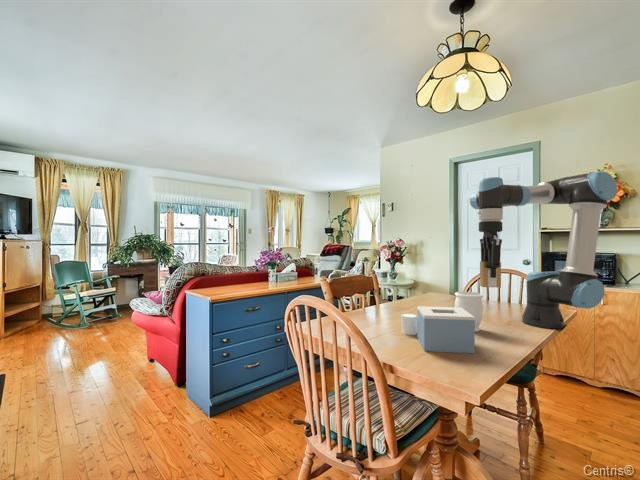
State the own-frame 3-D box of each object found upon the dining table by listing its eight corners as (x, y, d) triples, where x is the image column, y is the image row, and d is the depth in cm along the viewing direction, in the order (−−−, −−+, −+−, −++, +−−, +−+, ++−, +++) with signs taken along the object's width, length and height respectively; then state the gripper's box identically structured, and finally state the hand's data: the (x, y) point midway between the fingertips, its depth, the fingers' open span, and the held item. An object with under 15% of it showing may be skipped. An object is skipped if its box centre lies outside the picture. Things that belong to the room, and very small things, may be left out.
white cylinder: (419, 335, 120) (419, 317, 120) (401, 334, 122) (401, 317, 122) (417, 330, 127) (417, 313, 127) (400, 329, 129) (400, 312, 128)
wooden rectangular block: (497, 286, 113) (497, 261, 113) (500, 287, 110) (501, 262, 110) (479, 285, 114) (480, 261, 114) (483, 287, 111) (483, 262, 111)
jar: (476, 326, 134) (477, 291, 133) (487, 333, 123) (487, 295, 123) (451, 325, 135) (451, 291, 134) (459, 332, 124) (459, 295, 124)
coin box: (461, 339, 116) (461, 307, 116) (474, 353, 102) (474, 317, 102) (417, 337, 118) (417, 306, 118) (424, 350, 104) (424, 315, 104)
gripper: (471, 222, 121) (471, 282, 121) (488, 219, 105) (487, 289, 105) (492, 222, 120) (491, 282, 120) (512, 219, 104) (511, 289, 104)
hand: (489, 285), depth 112 cm, fingers closed on wooden rectangular block, 3 cm apart
